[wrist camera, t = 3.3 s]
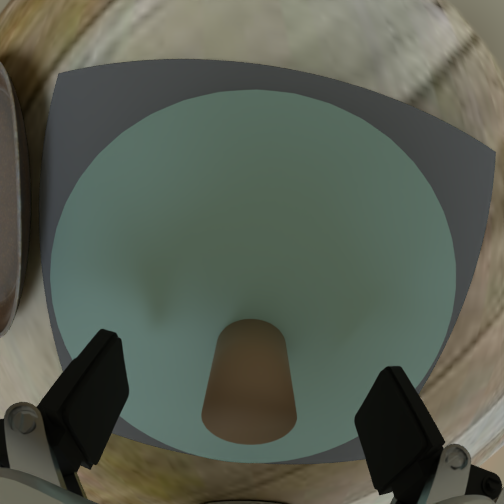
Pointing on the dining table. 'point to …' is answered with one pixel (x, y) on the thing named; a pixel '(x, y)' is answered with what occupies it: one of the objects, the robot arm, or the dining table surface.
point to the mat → (251, 78)
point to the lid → (254, 271)
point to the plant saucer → (12, 202)
